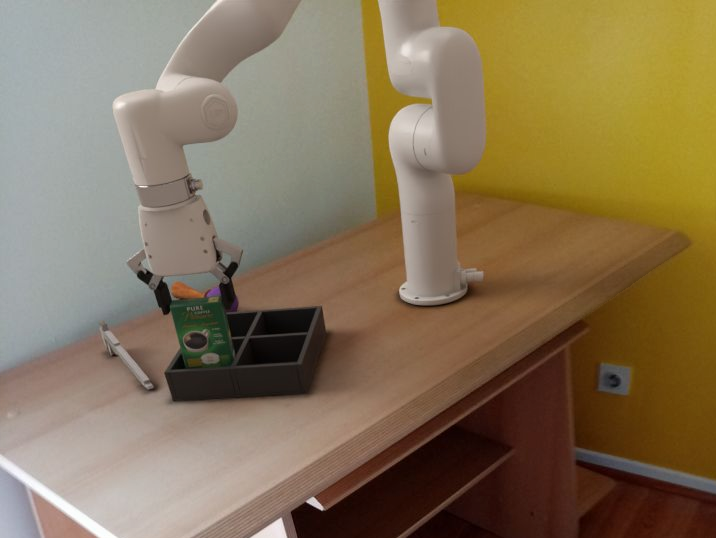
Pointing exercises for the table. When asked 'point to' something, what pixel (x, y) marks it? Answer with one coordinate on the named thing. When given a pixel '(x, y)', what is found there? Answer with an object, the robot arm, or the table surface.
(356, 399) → the table surface
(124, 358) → the caliper
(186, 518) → the table surface
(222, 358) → the coffee box
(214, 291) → the kendama
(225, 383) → the organizer
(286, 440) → the table surface
